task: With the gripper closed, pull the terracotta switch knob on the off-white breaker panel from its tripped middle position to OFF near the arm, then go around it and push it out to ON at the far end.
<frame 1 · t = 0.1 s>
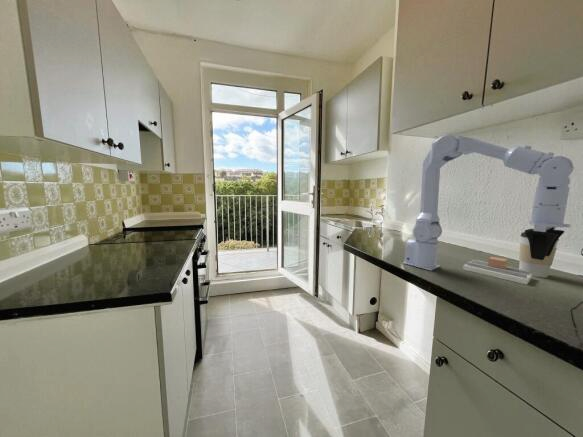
hand: (540, 257, 62), 10 cm above the counter, tool pointing down, fingers open, 7 cm apart
coffee cup: (532, 274, 81), on the counter
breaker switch: (497, 264, 79), point 3 cm above the counter, slide at 0.0 cm
breaker panel: (495, 273, 79), on the counter
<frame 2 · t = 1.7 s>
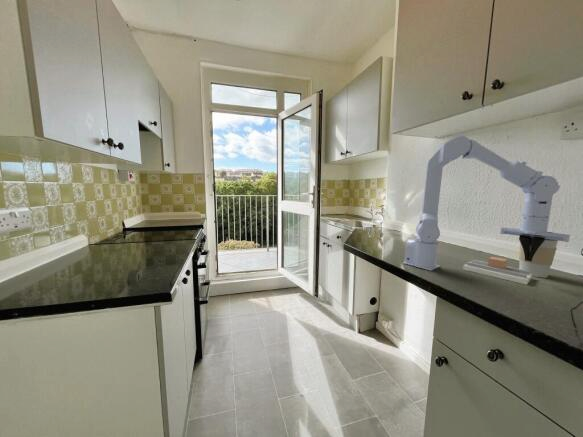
hand: (528, 260, 73), 6 cm above the counter, tool pointing down, fingers closed
nothing on the counter moved.
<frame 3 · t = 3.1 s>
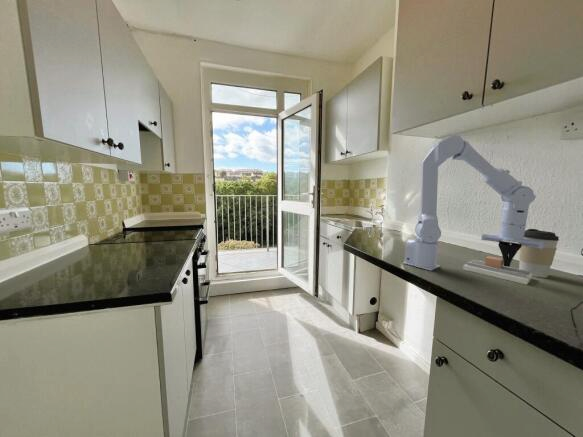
hand: (506, 265, 77), 3 cm above the counter, tool pointing down, fingers closed
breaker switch: (494, 263, 80), point 3 cm above the counter, slide at -0.8 cm, touching gripper
everything else where it was.
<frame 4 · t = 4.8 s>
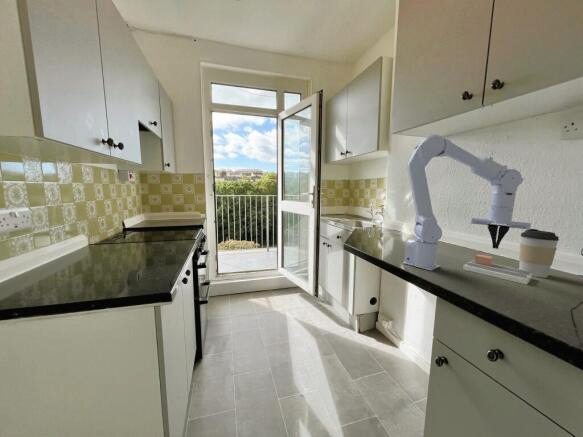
hand: (495, 248, 79), 9 cm above the counter, tool pointing down, fingers closed
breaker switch: (483, 261, 82), point 3 cm above the counter, slide at -3.6 cm
everything else where it was.
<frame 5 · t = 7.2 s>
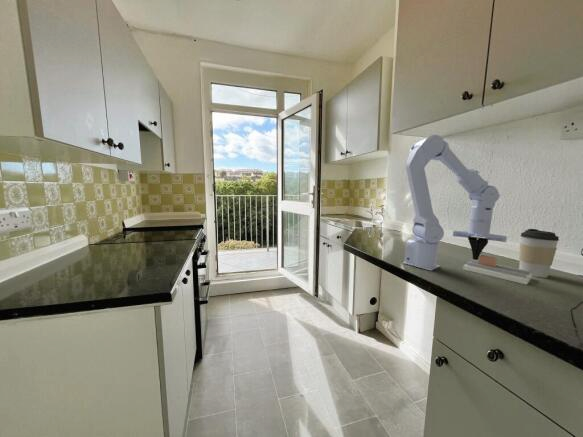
hand: (475, 259, 84), 3 cm above the counter, tool pointing down, fingers closed
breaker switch: (487, 262, 81), point 3 cm above the counter, slide at -2.6 cm, touching gripper
everything else where it was.
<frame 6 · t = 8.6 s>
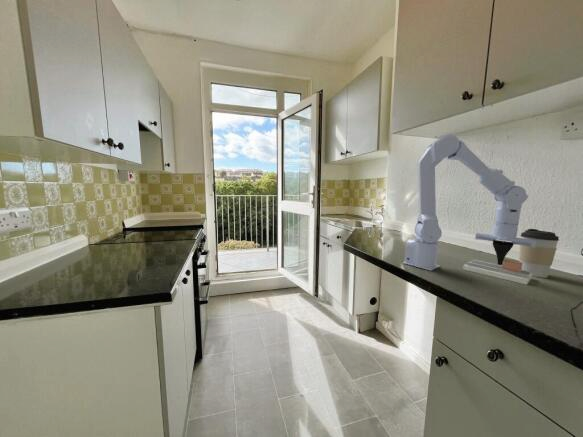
hand: (500, 264, 78), 3 cm above the counter, tool pointing down, fingers closed
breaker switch: (512, 267, 76), point 3 cm above the counter, slide at 3.7 cm, touching gripper
everything else where it was.
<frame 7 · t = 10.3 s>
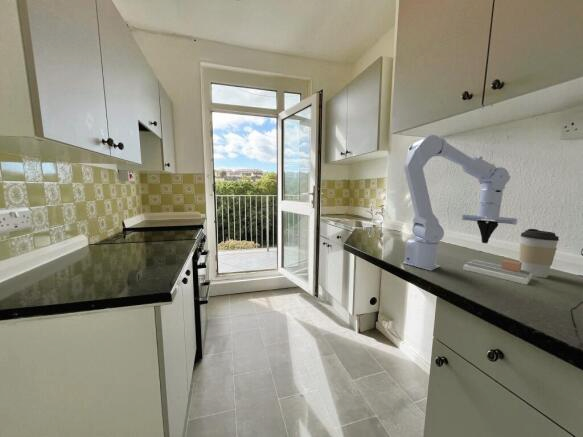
hand: (484, 242, 83), 9 cm above the counter, tool pointing down, fingers closed
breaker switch: (511, 267, 76), point 3 cm above the counter, slide at 3.6 cm
everything else where it was.
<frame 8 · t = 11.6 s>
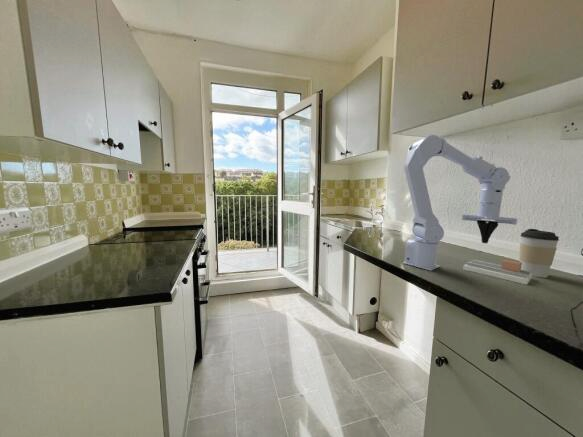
hand: (484, 242, 83), 9 cm above the counter, tool pointing down, fingers closed
nothing on the counter moved.
at the end: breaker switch slide at 3.6 cm; coffee cup moved 0.2 cm from its start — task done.
